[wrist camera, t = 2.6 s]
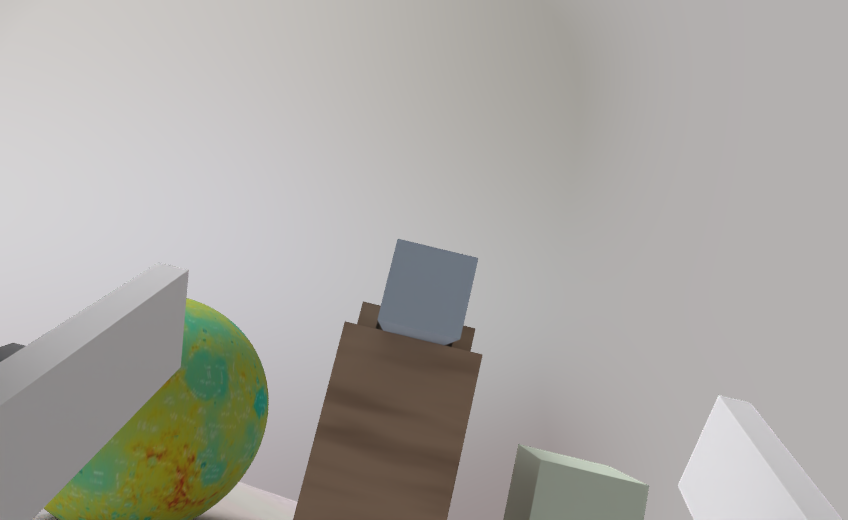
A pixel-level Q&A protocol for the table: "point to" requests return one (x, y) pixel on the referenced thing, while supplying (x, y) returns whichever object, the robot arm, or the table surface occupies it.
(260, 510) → the table surface
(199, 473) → the globe
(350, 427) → the stand
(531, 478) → the upper block
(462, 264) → the pale blue bar
